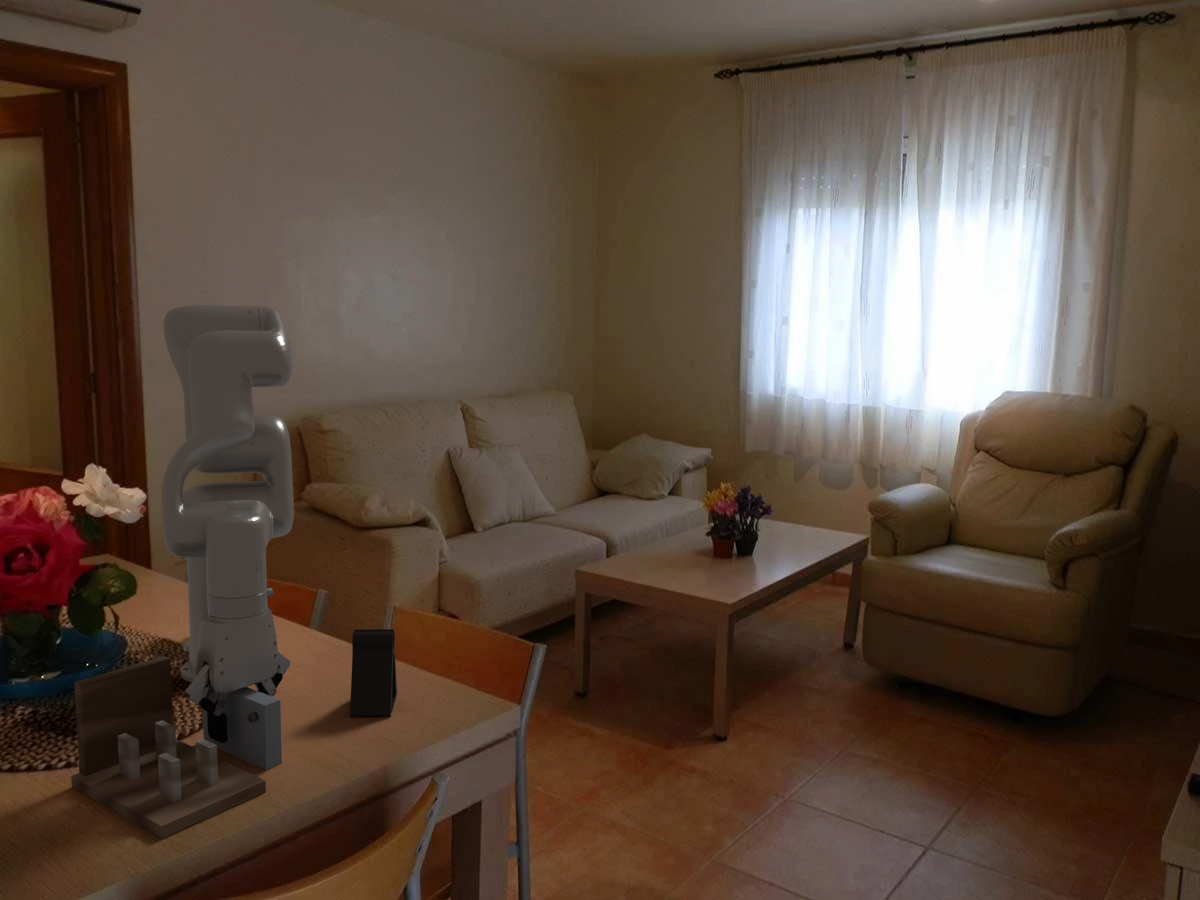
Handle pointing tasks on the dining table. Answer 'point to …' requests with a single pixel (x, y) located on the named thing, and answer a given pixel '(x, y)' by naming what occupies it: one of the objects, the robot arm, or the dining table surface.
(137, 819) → the wooden peg rack
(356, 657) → the phone stand
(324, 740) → the dining table surface
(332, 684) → the dining table surface
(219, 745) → the blue-grey rectangular block
